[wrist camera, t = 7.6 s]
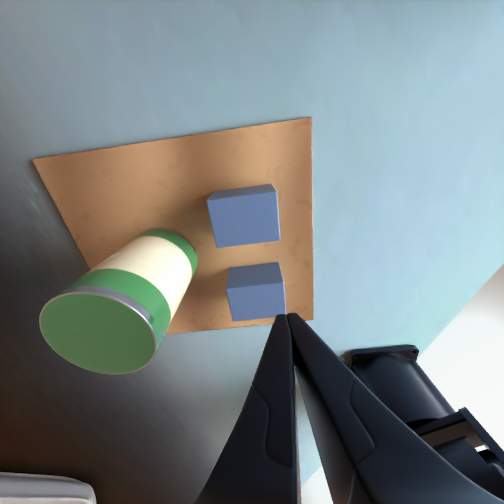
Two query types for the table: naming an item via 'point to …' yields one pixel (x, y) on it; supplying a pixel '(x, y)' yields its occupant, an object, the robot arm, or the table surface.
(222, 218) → the blue blocks
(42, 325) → the green tin
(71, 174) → the cork mat
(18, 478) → the square plate
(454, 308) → the table surface
